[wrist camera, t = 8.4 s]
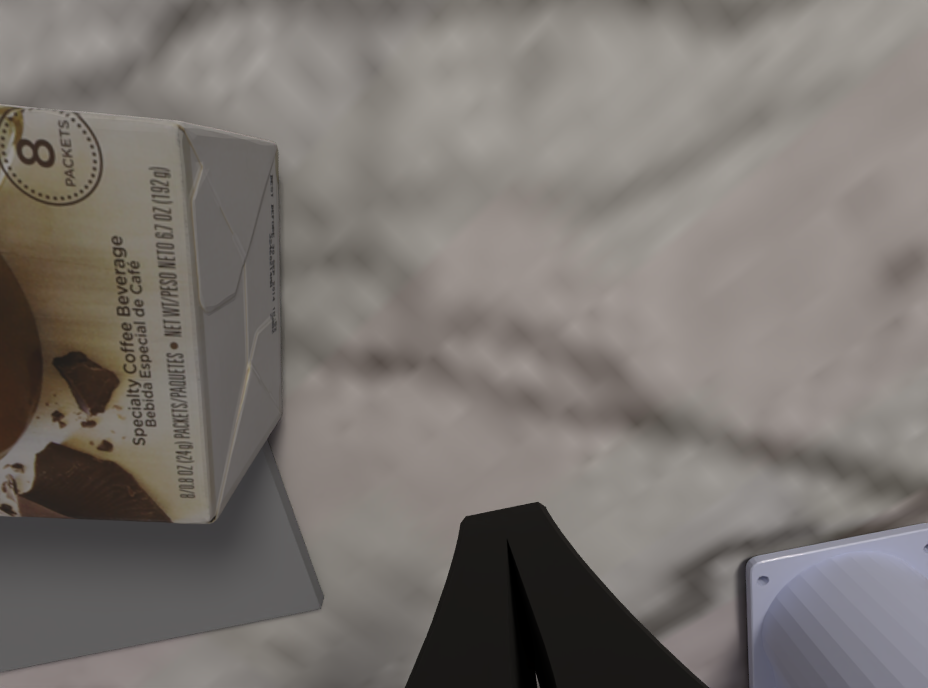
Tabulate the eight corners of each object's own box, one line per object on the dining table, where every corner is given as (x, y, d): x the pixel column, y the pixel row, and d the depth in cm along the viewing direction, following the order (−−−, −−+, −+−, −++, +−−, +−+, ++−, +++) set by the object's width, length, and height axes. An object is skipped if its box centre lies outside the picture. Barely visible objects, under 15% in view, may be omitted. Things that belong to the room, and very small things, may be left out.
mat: (324, 597, 21) (320, 608, 20) (-96, 680, 21) (-111, 694, 20) (159, 137, 15) (148, 136, 15) (-405, 256, 16) (-438, 259, 15)
